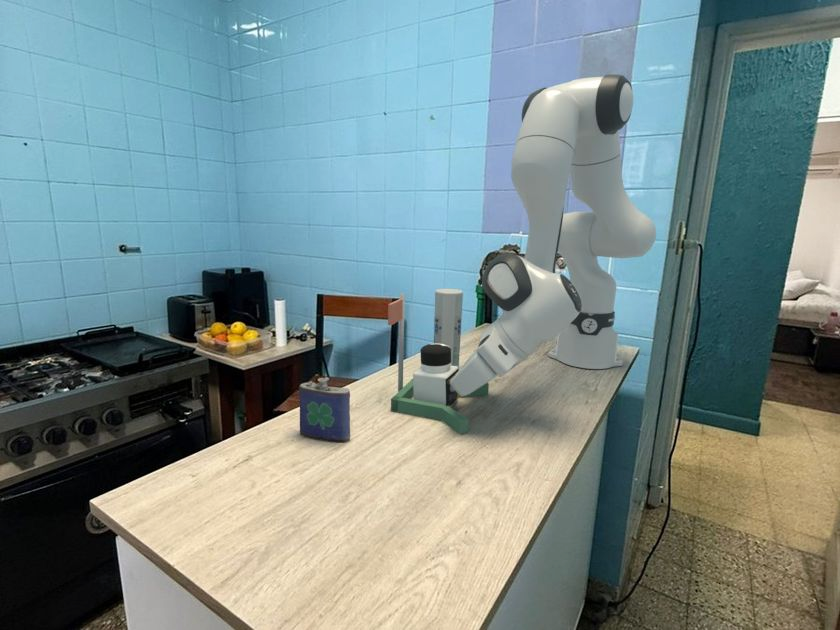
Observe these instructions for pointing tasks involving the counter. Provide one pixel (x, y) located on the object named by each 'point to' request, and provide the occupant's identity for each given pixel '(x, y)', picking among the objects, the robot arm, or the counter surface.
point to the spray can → (448, 320)
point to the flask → (324, 412)
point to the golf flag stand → (404, 395)
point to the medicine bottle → (435, 376)
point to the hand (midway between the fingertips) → (450, 386)
